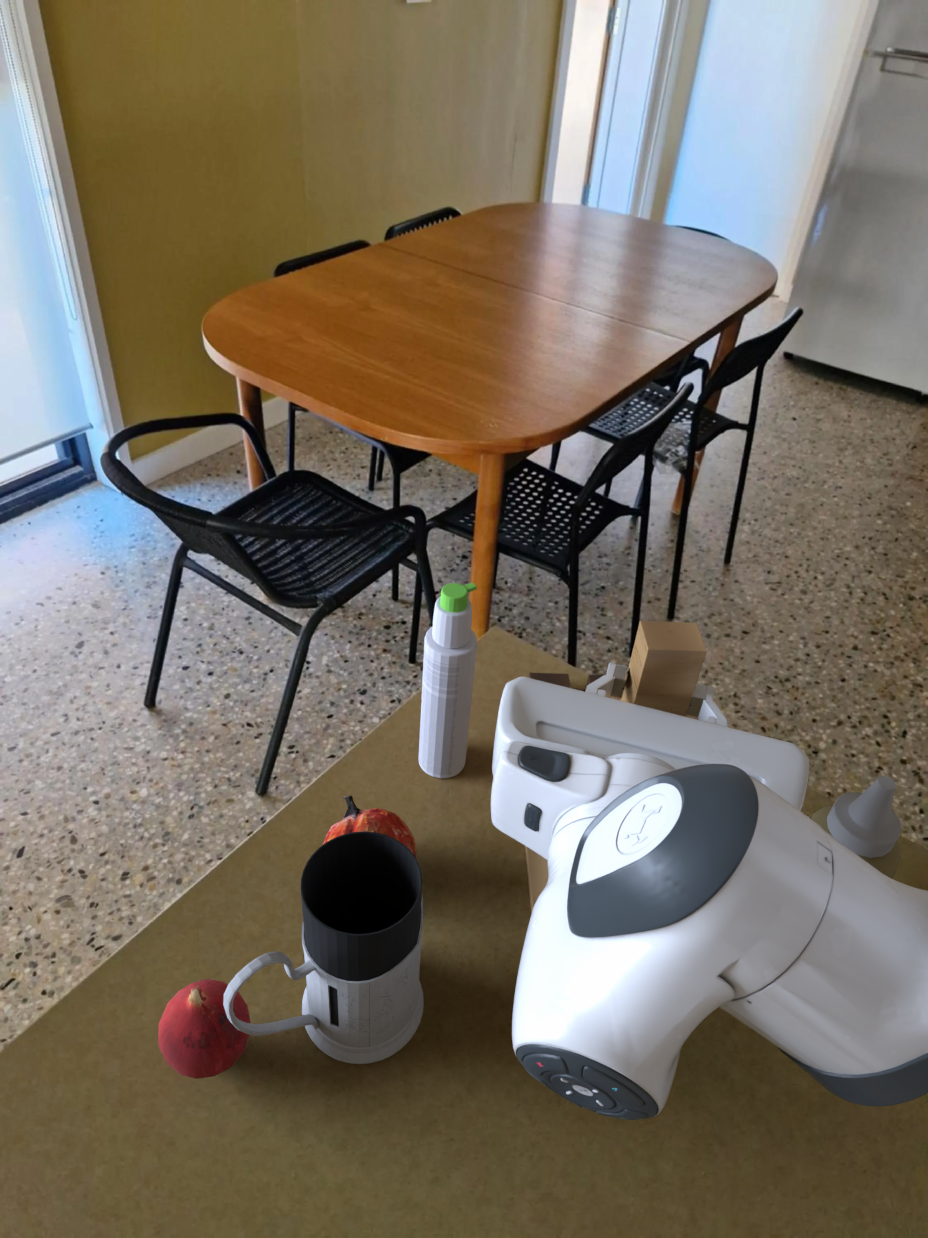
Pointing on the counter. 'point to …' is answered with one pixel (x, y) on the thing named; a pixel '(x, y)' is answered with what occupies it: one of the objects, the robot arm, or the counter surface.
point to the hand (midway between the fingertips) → (658, 680)
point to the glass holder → (354, 950)
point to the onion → (202, 1030)
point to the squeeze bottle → (866, 825)
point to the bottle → (447, 683)
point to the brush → (665, 666)
